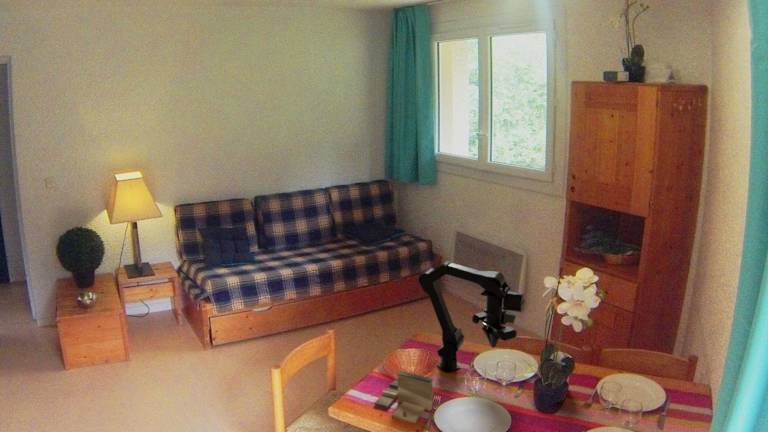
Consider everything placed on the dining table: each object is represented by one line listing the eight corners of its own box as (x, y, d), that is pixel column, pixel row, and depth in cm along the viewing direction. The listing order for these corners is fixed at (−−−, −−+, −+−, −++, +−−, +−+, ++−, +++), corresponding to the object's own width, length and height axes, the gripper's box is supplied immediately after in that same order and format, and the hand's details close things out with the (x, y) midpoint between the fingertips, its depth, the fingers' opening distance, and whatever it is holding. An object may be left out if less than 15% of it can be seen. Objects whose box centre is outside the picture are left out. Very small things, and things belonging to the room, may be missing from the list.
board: (394, 383, 221) (394, 377, 220) (407, 386, 219) (407, 380, 218) (374, 405, 207) (374, 400, 206) (387, 409, 205) (387, 403, 204)
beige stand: (400, 399, 210) (400, 370, 207) (432, 408, 205) (432, 378, 202) (387, 415, 201) (386, 385, 198) (420, 424, 196) (420, 394, 193)
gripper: (529, 311, 212) (527, 352, 216) (495, 294, 228) (494, 332, 232) (504, 318, 207) (503, 360, 211) (471, 300, 223) (471, 339, 227)
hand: (493, 347), depth 221 cm, fingers closed
